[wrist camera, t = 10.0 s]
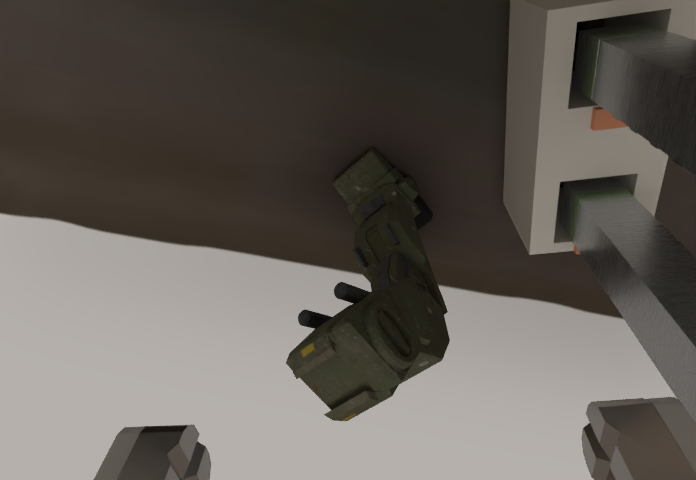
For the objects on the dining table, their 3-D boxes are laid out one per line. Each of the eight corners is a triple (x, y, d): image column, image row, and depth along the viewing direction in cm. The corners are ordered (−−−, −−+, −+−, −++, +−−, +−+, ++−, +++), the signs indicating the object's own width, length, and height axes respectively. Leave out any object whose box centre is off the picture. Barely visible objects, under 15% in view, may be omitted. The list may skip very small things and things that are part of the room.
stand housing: (510, -5, 40) (550, 11, 31) (634, -24, 39) (713, -13, 30) (502, 202, 50) (531, 258, 41) (600, 191, 49) (651, 247, 40)
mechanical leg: (462, 234, 52) (472, 441, 25) (411, 268, 55) (370, 488, 27) (382, 137, 49) (297, 246, 22) (334, 178, 52) (205, 320, 25)
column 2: (563, 181, 40) (730, 390, 21) (613, 176, 39) (827, 384, 21) (558, 226, 42) (704, 449, 24) (605, 222, 42) (791, 445, 23)
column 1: (578, 30, 34) (829, 139, 15) (637, 21, 33) (969, 123, 15) (572, 92, 36) (781, 252, 18) (627, 85, 36) (901, 242, 17)
